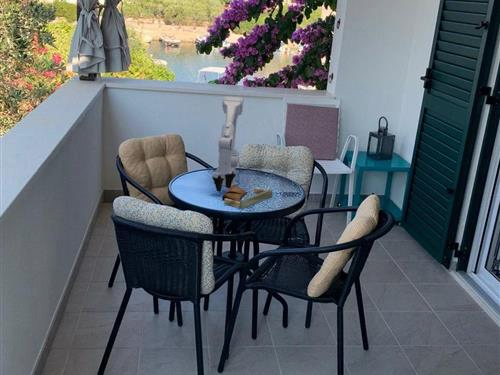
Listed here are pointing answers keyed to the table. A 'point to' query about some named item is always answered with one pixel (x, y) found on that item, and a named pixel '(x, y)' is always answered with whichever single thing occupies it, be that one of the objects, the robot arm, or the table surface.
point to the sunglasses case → (234, 193)
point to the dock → (250, 199)
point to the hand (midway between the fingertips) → (223, 189)
